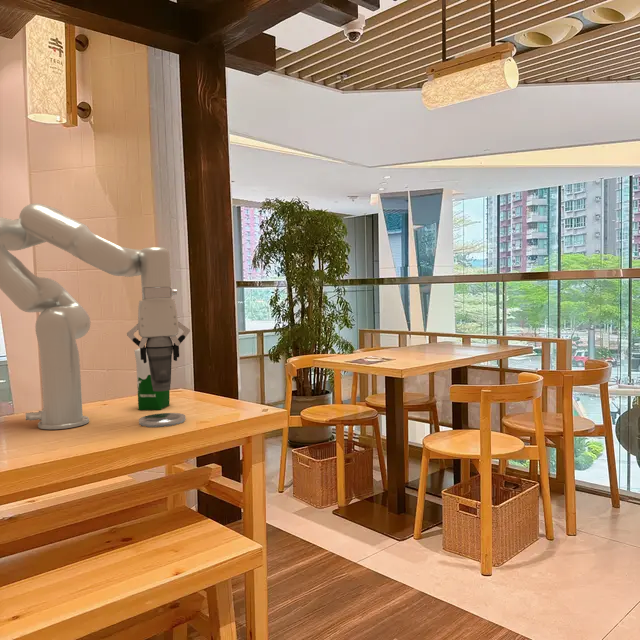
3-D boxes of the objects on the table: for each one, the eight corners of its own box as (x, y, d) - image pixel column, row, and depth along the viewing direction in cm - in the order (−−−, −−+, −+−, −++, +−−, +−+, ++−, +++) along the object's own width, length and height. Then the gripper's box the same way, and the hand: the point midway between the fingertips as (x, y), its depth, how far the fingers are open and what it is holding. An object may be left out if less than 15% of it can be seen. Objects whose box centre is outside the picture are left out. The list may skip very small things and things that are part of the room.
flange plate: (139, 429, 151) (139, 424, 151) (138, 419, 163) (138, 415, 163) (187, 424, 155) (187, 419, 155) (183, 415, 167) (183, 411, 166)
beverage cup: (155, 387, 163) (151, 314, 162) (180, 387, 162) (176, 314, 161) (142, 392, 156) (138, 316, 155) (168, 392, 155) (164, 315, 154)
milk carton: (173, 404, 183) (170, 340, 182) (162, 410, 174) (159, 342, 173) (146, 404, 184) (143, 340, 183) (133, 410, 176) (130, 343, 174)
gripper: (188, 293, 164) (191, 357, 164) (122, 295, 158) (125, 362, 159) (191, 293, 156) (195, 360, 157) (122, 295, 151) (126, 365, 152)
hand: (160, 360), depth 158 cm, fingers closed on beverage cup, 7 cm apart
